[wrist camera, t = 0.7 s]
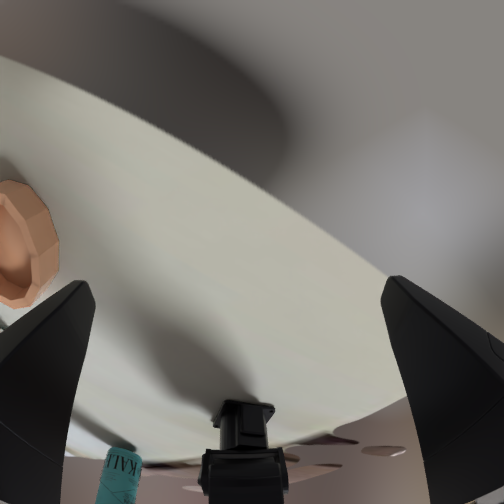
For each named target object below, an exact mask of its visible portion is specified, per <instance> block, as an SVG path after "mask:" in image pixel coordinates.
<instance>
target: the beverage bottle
mask: <svg viewBox="0 0 504 504" xmlns="http://www.w3.org/2000/svg"><path fill="white" fill-rule="evenodd" d="M105 460H106V461H105V465H104V469H103V472H102V476H101V480H100V486H99V489H98V493H97V498H96V502H95V504H135V498H136V492H137V487H138V482H139V477H140V475H141V470H142V469H141V466H142V459H141V457H140V456H139V455H137V454H135V453H133V452H131V451H129V450H126V449H123V448H118V447H112V448H110V449H109V450H108V452H107V458H106V459H105Z"/></svg>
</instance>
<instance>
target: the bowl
mask: <svg viewBox="0 0 504 504" xmlns="http://www.w3.org/2000/svg"><path fill="white" fill-rule="evenodd" d="M58 271H59V239H58V237H57V234H56V231H55V228H54V226H53V223H52V220H51V217H50V214H49V211H48V208H47V207H46V206H45V204H44V203H43V202H42V201H41V200H40V199H39V197H38V196H37V195H36V194H35V192H34V191H33V190H32V189H31V187H30V186H29V185H26V184H22V183H19V182H15V181H12V180H9V179H8V180H5V181H3V182H0V302H2V303H4V304H5V305H7V306H9V307H11V308H13V309H18V308H24V307H30V306H31V305H32V304H33V303H34V302H35V301H36V300H37V299H38V298H39V297H40V296H41V295H42V294H43V293H44V292H45V291H46V290H47V289H48V287H49V285H50V284H51V282H52V280H53V279H54V277H55V275H56V274H57V272H58Z"/></svg>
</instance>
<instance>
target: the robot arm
mask: <svg viewBox="0 0 504 504" xmlns="http://www.w3.org/2000/svg"><path fill="white" fill-rule="evenodd" d="M381 307H382V311H383V314H384V318H385V322H386V326H387V330H388V334H389V339H390V342H391V346H392V349H393V352H394V355H395V358H396V361H397V364H398V367H399V371H400V374H401V377H402V380H403V383H404V387H405V390H406V393H407V397H408V400H409V404H410V407H411V411H412V415H413V419H414V422H415V426H416V430H417V435H418V438H419V443H420V448H421V452H422V457H423V460H424V467H425V473H426V478H427V484H428V489H429V496H430V504H465V503H468V502H470V501H473V500H475V501H474V502H472V503H471V504H504V343H503V342H501V341H500V340H498V339H497V338H495V337H494V336H493V335H491V334H490V333H489V332H486V330H484V329H483V328H481V327H480V326H478V325H477V324H476V323H474V322H473V321H471V320H470V319H468V318H467V317H465V316H464V315H462V314H461V313H459V312H458V311H456V310H455V309H453V308H452V307H450V306H449V305H447V304H446V303H444V302H442V301H441V300H439V299H438V298H436V297H435V296H433V295H432V294H430V293H429V292H427V291H425V290H424V289H422V288H421V287H419V286H417V285H416V284H414V283H413V282H411V281H409V280H408V279H406V278H405V277H403V276H400V275H398V276H390V277H388V279H387V281H386V284H385V287H384V290H383V293H382V296H381ZM95 308H96V305H95V300H94V298H93V295H92V292H91V290H90V287H89V285H88V283H87V282H86V281H84V280H75V281H73V282H71V283H70V284H68V285H67V286H65V287H64V288H62V289H61V290H59V291H58V292H56V293H55V294H53V295H52V296H50V297H49V298H47V299H46V300H45V301H43V302H42V303H40V304H39V305H38V306H36V307H35V308H33V309H32V310H31V311H29V312H28V313H26V314H25V315H24V316H22V317H21V318H20V319H18V320H17V321H16V322H14V323H13V324H12V325H10V326H9V327H8V328H6V329H5V330H4V331H2V332H1V333H0V504H60V496H61V482H62V472H63V467H62V466H63V462H64V454H65V447H66V440H67V434H68V428H69V423H70V417H71V412H72V408H73V403H74V398H75V394H76V390H77V385H78V381H79V377H80V373H81V370H82V366H83V362H84V359H85V355H86V351H87V347H88V342H89V336H90V331H91V327H92V322H93V317H94V313H95ZM274 413H275V408H274V407H269V406H261V405H254V404H248V403H241V402H236V401H230V400H226V401H224V402H223V405H222V407H221V409H220V411H219V413H218V415H217V417H216V419H215V421H214V423H213V427H215V428H219V429H220V450H211V449H206V453H205V454H203V455H202V465H201V470H200V473H199V477H198V484H199V485H200V486H201V487H202V490H203V493H204V496H209V504H284V498H283V494H288V473H287V468H286V463H285V459H284V454H283V449H282V447H277V448H273V449H269V447H268V437H267V427H266V424H267V422H268V421H269V420H270V418H271V417H272V416H273V414H274Z"/></svg>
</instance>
